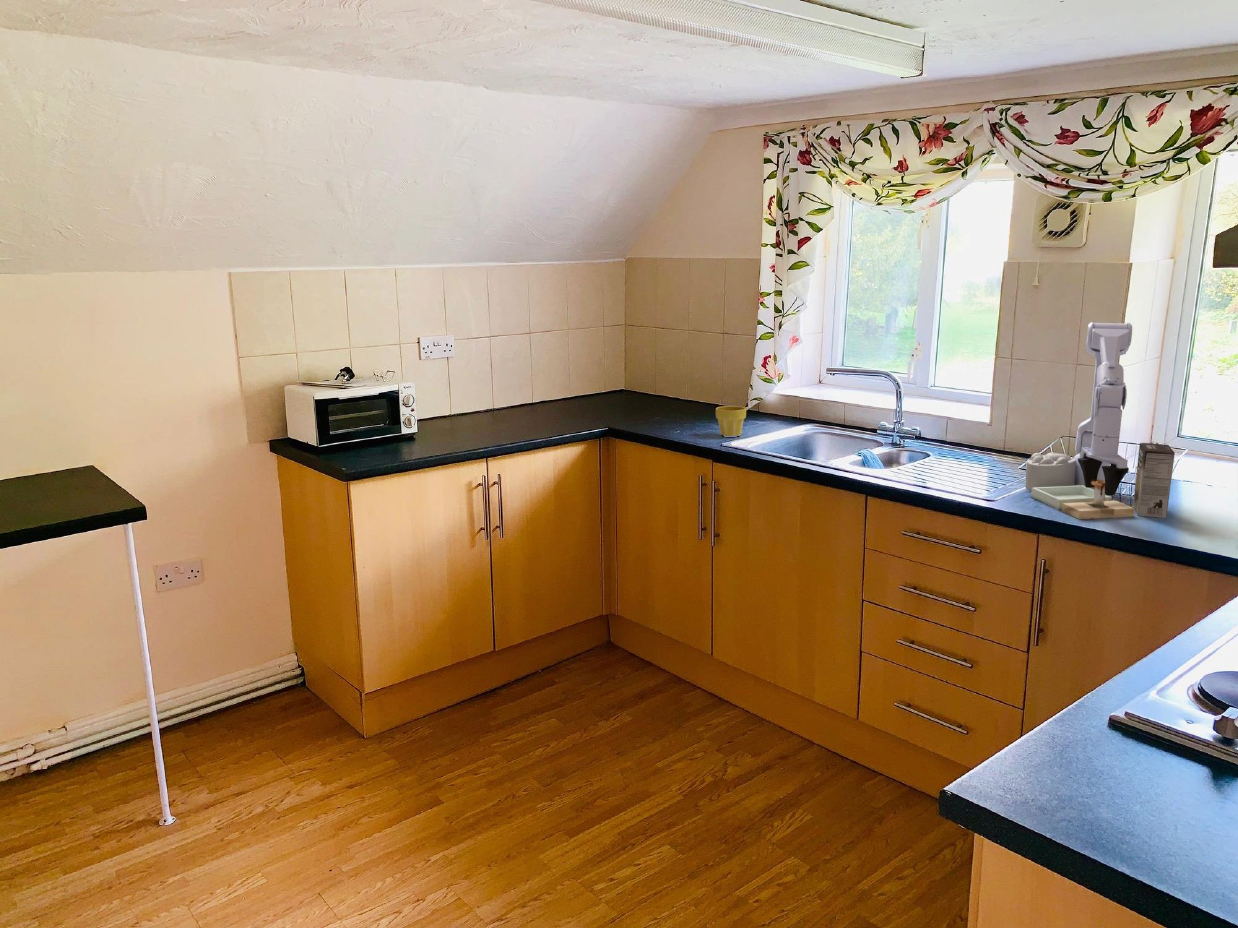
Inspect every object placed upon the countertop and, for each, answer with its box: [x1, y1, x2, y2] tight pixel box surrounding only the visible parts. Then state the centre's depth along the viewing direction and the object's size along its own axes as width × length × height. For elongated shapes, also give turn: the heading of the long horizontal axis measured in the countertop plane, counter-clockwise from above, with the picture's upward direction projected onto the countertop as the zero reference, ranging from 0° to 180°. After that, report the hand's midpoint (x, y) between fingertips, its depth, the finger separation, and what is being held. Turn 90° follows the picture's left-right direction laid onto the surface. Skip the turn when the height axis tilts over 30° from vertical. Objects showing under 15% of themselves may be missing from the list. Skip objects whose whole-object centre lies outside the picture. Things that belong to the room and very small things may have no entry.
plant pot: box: [715, 405, 747, 436], centre depth 323 cm, size 10×10×10 cm
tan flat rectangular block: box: [1061, 500, 1136, 520], centre depth 227 cm, size 7×14×2 cm, turn 98°
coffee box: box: [1132, 442, 1176, 519], centre depth 226 cm, size 9×6×16 cm
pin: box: [1091, 480, 1105, 508], centre depth 226 cm, size 4×4×8 cm
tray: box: [1030, 485, 1113, 510], centre depth 237 cm, size 12×14×2 cm
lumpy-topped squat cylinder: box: [1024, 451, 1076, 491], centre depth 251 cm, size 10×13×9 cm
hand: (1099, 491), depth 226 cm, fingers open, 7 cm apart
